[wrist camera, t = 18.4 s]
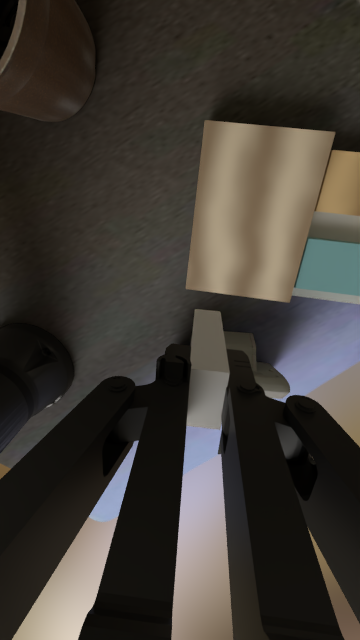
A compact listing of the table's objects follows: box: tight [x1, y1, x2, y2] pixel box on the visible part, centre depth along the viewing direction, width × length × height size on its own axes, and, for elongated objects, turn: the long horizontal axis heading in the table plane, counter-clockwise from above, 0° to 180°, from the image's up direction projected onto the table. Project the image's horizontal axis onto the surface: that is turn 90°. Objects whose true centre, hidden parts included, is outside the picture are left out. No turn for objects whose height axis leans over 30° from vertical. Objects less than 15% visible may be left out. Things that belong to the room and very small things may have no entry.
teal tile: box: [294, 237, 360, 296], centre depth 35 cm, size 9×6×2 cm, turn 85°
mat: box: [292, 211, 360, 304], centre depth 35 cm, size 12×17×1 cm
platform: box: [186, 120, 335, 303], centre depth 34 cm, size 13×18×4 cm
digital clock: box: [190, 331, 290, 399], centre depth 39 cm, size 16×9×11 cm, turn 77°
